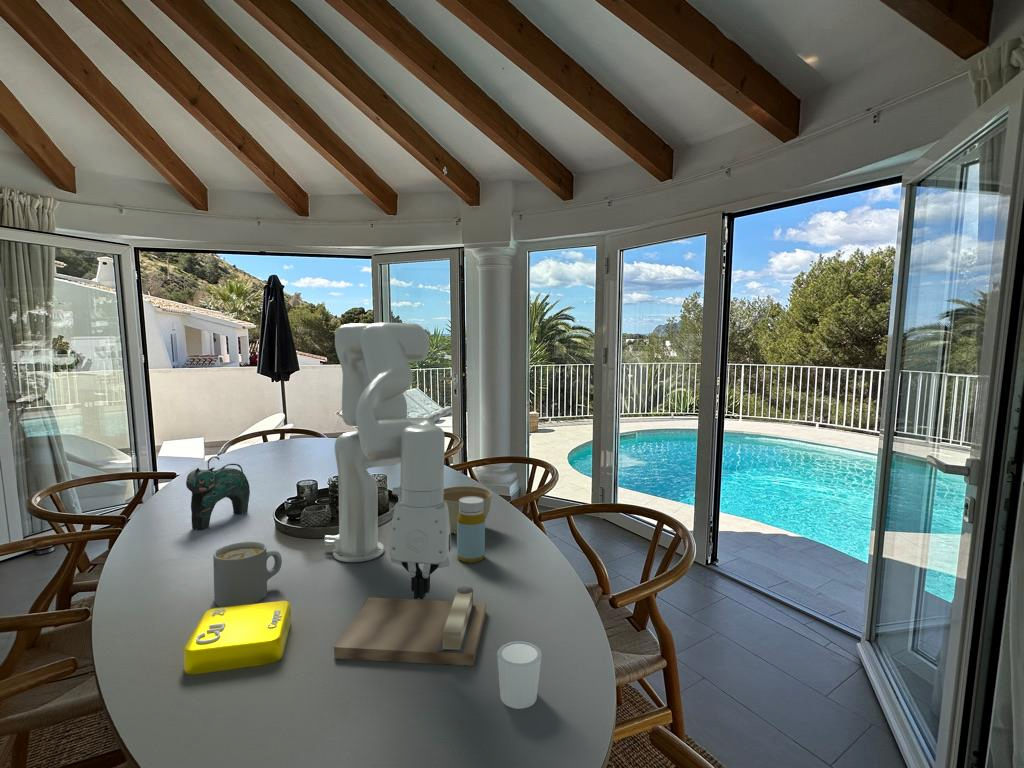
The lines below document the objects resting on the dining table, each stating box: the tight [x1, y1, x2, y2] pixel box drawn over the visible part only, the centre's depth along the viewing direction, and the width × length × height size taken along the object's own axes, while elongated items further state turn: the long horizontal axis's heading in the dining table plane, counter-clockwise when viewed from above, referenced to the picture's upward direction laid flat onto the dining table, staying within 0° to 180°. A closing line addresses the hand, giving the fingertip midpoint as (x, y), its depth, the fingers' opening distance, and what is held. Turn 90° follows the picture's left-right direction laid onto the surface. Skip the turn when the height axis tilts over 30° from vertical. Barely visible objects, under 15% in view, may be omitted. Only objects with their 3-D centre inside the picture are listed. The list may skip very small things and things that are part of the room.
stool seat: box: [333, 597, 487, 667], centre depth 99 cm, size 24×18×2 cm
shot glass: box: [496, 640, 543, 710], centre depth 81 cm, size 7×7×7 cm
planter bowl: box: [444, 485, 493, 535], centre depth 154 cm, size 16×16×11 cm
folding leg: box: [443, 586, 474, 650], centre depth 98 cm, size 17×3×3 cm, turn 177°
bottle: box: [456, 496, 486, 564], centre depth 134 cm, size 7×7×15 cm
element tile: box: [183, 600, 292, 675], centre depth 94 cm, size 15×15×5 cm
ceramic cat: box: [185, 456, 251, 531], centre depth 159 cm, size 20×6×20 cm, turn 161°
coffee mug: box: [212, 541, 283, 608], centre depth 113 cm, size 13×10×10 cm
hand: (420, 595), depth 95 cm, fingers closed
